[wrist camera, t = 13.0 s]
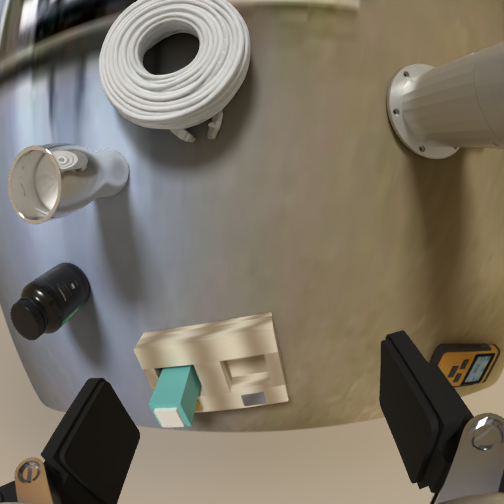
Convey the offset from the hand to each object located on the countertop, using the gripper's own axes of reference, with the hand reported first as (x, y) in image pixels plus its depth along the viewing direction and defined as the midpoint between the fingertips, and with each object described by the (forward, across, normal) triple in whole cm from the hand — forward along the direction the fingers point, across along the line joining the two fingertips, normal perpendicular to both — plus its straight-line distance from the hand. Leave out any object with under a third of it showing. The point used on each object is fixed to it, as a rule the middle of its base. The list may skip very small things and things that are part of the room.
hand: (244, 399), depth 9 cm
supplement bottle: (+28, +27, +3) cm, 39 cm away
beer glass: (+28, +16, -10) cm, 34 cm away
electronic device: (+29, -30, +31) cm, 52 cm away
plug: (+27, +14, +18) cm, 35 cm away
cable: (+29, +5, -21) cm, 36 cm away
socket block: (+28, +9, +18) cm, 34 cm away
